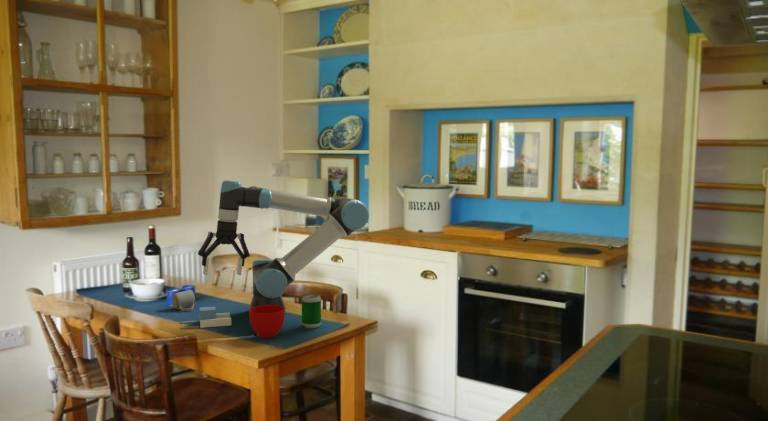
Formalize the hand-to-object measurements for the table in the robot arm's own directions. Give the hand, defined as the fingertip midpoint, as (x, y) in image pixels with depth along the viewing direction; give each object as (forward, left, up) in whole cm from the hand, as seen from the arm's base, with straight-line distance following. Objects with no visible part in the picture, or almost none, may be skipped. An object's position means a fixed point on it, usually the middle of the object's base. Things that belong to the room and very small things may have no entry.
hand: (222, 274), depth 247 cm
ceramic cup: (-14, +18, -20) cm, 30 cm away
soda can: (-33, +12, -20) cm, 40 cm away
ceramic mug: (+14, -32, -20) cm, 40 cm away
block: (+6, 0, -19) cm, 20 cm away
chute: (+7, 0, -20) cm, 21 cm away
